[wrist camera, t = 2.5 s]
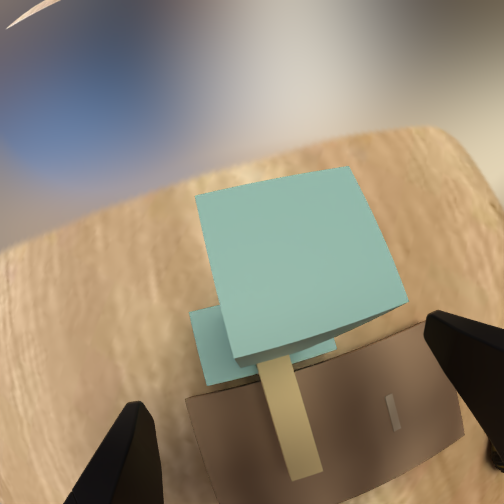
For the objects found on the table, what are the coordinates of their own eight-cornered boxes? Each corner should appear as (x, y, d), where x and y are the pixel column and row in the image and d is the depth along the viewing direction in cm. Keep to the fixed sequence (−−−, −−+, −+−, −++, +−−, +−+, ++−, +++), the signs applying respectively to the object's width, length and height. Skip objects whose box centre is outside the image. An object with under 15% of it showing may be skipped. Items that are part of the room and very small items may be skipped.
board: (231, 518, 13) (230, 532, 11) (190, 396, 17) (184, 399, 15) (448, 432, 15) (465, 435, 13) (420, 322, 19) (435, 316, 17)
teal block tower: (239, 471, 15) (232, 632, 2) (197, 321, 18) (101, 199, 6) (347, 438, 16) (512, 507, 3) (304, 294, 19) (404, 141, 6)
